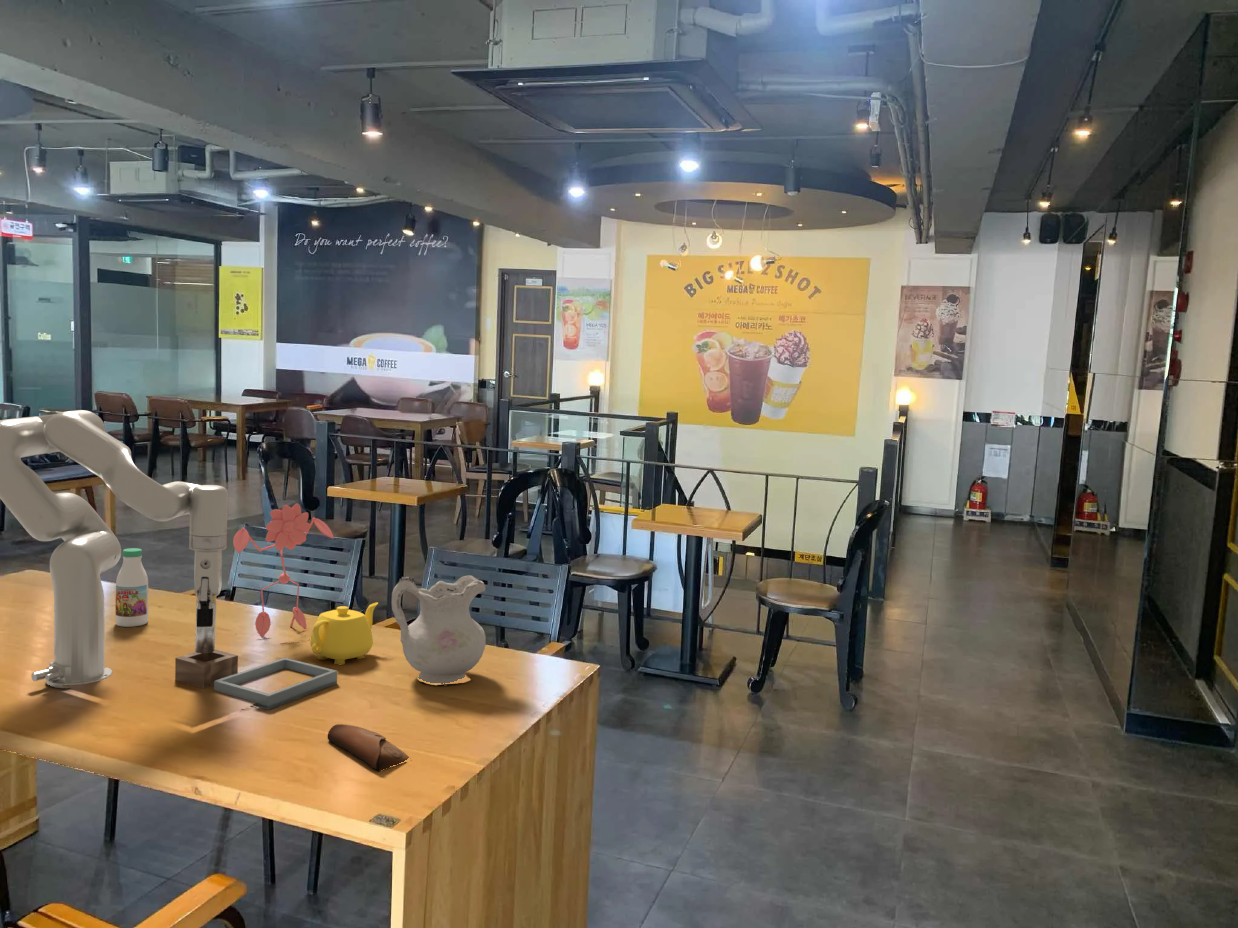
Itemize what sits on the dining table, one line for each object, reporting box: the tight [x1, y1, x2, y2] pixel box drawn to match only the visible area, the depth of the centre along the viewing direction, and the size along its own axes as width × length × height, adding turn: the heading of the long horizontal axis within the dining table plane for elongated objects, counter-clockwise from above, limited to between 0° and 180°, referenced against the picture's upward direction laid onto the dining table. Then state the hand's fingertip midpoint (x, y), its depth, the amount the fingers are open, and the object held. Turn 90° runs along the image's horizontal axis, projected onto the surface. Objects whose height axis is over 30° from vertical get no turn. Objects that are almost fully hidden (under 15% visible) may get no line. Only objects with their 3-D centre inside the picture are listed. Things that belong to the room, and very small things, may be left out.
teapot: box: [309, 601, 379, 665], centre depth 232 cm, size 14×20×13 cm
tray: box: [213, 657, 338, 711], centre depth 207 cm, size 20×16×3 cm
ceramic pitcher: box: [391, 575, 487, 684], centre depth 219 cm, size 22×20×25 cm
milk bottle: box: [115, 547, 149, 628], centre depth 248 cm, size 8×8×20 cm
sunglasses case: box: [327, 723, 410, 772], centre depth 177 cm, size 18×7×7 cm
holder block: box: [174, 649, 239, 689], centre depth 208 cm, size 9×9×6 cm
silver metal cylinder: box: [194, 592, 217, 653], centre depth 207 cm, size 4×4×13 cm
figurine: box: [232, 503, 335, 645], centre depth 244 cm, size 15×26×35 cm, turn 135°
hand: (205, 622), depth 207 cm, fingers closed on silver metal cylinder, 4 cm apart
